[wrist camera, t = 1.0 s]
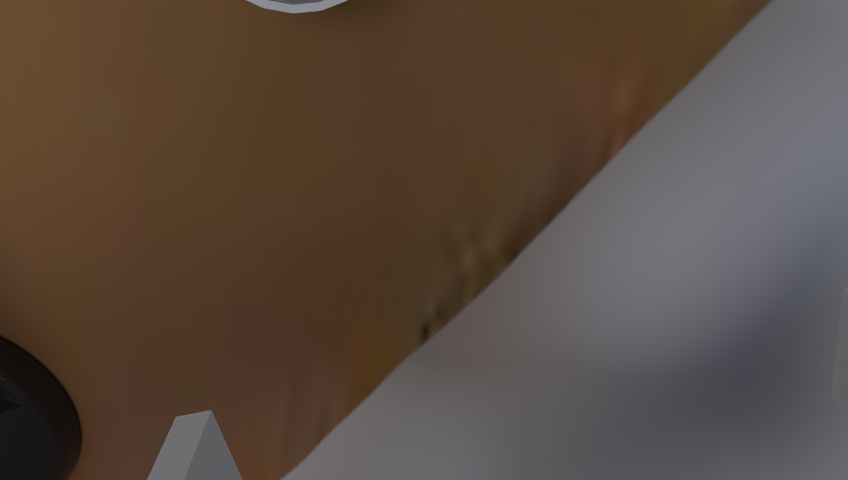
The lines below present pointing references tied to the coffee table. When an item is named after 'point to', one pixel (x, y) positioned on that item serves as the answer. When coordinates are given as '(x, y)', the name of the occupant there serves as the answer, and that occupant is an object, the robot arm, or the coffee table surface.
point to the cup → (296, 5)
